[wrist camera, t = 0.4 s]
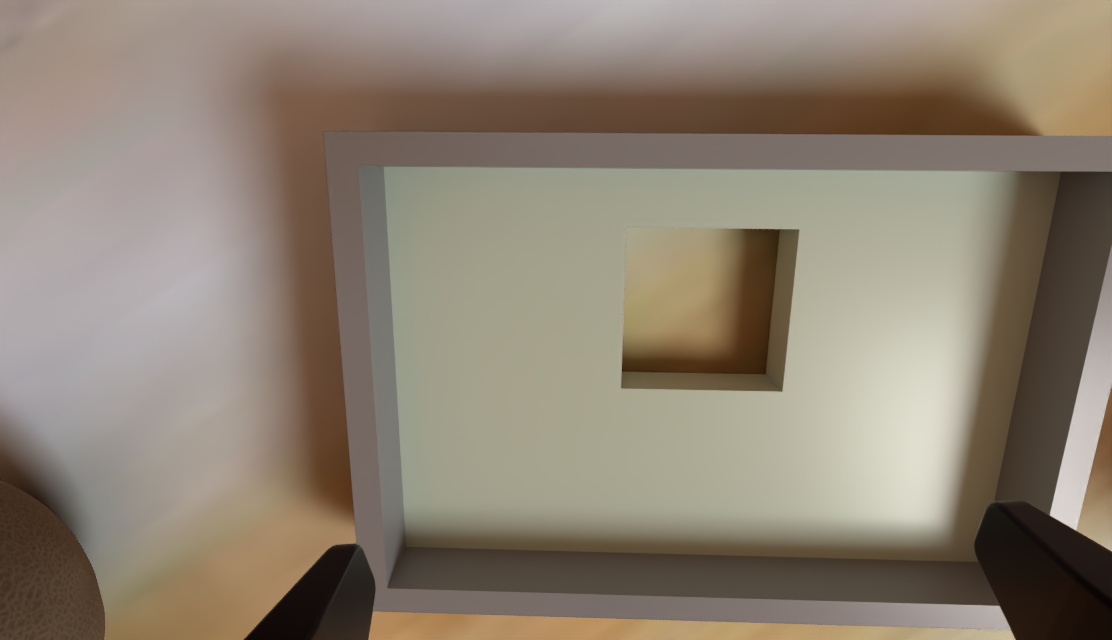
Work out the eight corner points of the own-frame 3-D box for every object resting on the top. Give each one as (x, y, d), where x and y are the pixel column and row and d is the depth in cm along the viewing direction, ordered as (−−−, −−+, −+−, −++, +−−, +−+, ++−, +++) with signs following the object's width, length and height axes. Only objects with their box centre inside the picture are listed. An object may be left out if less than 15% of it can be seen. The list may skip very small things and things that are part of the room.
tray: (970, 553, 26) (1051, 631, 21) (397, 538, 26) (361, 611, 22) (1051, 144, 22) (1171, 136, 17) (372, 140, 22) (323, 131, 18)
